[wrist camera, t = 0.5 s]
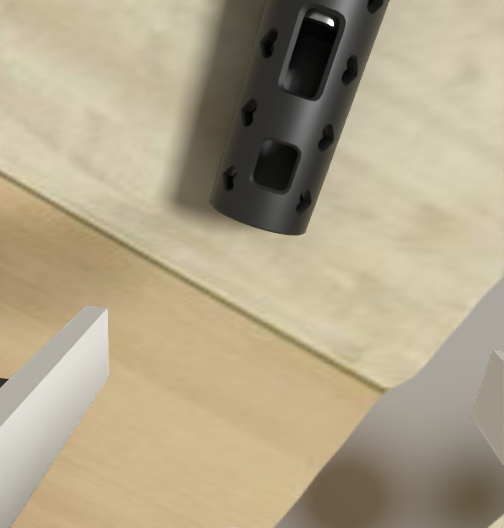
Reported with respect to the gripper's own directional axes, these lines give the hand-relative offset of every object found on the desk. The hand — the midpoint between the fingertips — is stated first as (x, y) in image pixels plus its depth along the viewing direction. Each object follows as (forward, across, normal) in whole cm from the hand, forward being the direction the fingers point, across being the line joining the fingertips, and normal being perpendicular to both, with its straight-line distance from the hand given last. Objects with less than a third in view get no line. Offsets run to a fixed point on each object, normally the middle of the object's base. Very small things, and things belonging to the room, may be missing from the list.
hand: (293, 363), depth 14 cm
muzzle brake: (+30, +1, +13) cm, 33 cm away
